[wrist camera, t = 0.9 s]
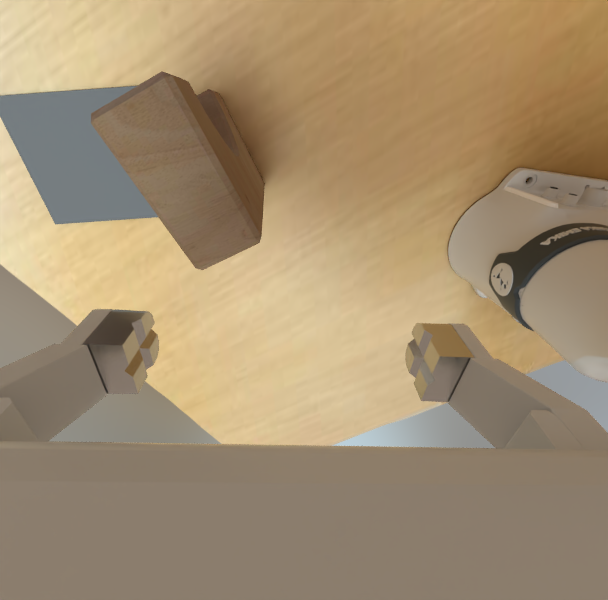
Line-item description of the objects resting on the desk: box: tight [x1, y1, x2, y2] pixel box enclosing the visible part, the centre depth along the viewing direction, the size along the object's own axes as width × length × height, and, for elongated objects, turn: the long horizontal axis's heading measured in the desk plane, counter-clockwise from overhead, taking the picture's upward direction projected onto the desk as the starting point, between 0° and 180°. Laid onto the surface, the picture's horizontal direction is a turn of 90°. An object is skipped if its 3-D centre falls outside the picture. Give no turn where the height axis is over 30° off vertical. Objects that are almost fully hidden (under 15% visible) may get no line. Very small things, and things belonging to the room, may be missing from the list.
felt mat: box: [0, 86, 158, 224], centre depth 37 cm, size 20×14×1 cm
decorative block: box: [91, 72, 265, 270], centre depth 28 cm, size 11×6×20 cm, turn 23°
